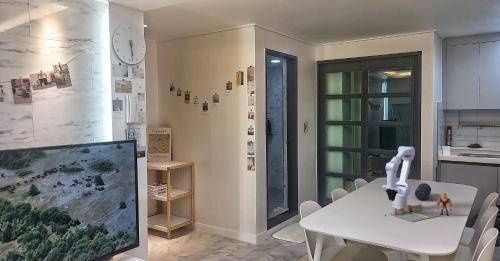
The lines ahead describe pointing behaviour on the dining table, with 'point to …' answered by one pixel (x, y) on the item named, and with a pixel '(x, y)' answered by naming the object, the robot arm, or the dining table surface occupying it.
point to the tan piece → (401, 210)
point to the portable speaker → (423, 191)
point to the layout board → (416, 215)
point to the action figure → (444, 203)
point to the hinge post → (410, 208)
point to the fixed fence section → (416, 207)
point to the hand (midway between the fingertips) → (391, 200)
